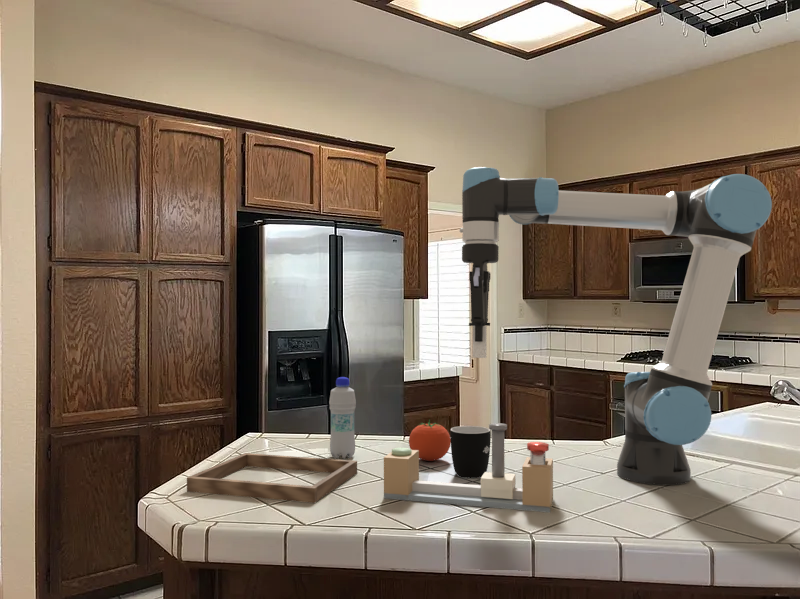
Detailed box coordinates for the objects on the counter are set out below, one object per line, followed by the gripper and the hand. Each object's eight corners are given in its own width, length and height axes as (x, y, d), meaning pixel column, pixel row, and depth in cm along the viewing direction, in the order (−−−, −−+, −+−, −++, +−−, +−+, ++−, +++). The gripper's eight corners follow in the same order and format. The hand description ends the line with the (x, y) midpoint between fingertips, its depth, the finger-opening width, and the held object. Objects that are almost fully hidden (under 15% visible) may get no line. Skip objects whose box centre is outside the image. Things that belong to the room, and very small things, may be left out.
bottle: (361, 455, 167) (361, 376, 168) (345, 461, 162) (345, 379, 162) (340, 452, 171) (340, 375, 171) (323, 457, 165) (323, 377, 165)
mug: (488, 481, 143) (487, 434, 143) (447, 478, 145) (446, 432, 145) (494, 468, 154) (494, 424, 155) (456, 465, 157) (456, 422, 157)
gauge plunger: (549, 489, 127) (549, 442, 127) (548, 495, 123) (547, 446, 124) (528, 487, 128) (528, 441, 129) (526, 493, 125) (526, 445, 125)
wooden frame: (357, 473, 150) (357, 460, 150) (314, 502, 128) (314, 488, 128) (245, 464, 158) (245, 453, 158) (186, 491, 136) (186, 477, 136)
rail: (553, 499, 129) (552, 454, 129) (550, 512, 121) (549, 464, 121) (395, 487, 138) (395, 445, 138) (383, 498, 131) (383, 453, 131)
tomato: (459, 461, 161) (459, 420, 161) (425, 467, 155) (425, 425, 155) (433, 454, 169) (433, 414, 169) (400, 459, 163) (400, 418, 163)
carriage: (515, 492, 130) (515, 423, 130) (512, 499, 125) (512, 427, 125) (485, 490, 131) (484, 421, 131) (480, 497, 127) (480, 426, 127)
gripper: (467, 246, 145) (466, 354, 145) (457, 241, 132) (456, 359, 132) (501, 246, 143) (500, 355, 143) (494, 240, 130) (493, 360, 130)
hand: (479, 357), depth 138 cm, fingers closed
